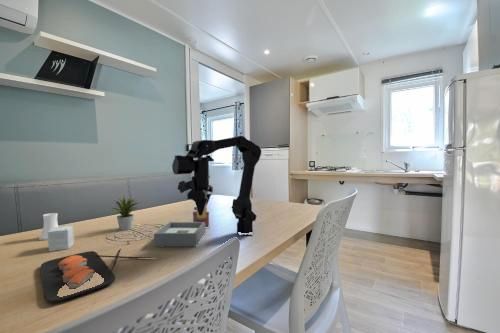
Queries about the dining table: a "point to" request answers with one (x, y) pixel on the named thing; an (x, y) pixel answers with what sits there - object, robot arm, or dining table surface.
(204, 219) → the lighter
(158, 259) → the dining table surface
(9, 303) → the dining table surface
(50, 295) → the sushi plate
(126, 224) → the house plant
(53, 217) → the salt shaker
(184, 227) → the box
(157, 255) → the dining table surface
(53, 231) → the product box
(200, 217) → the peg
